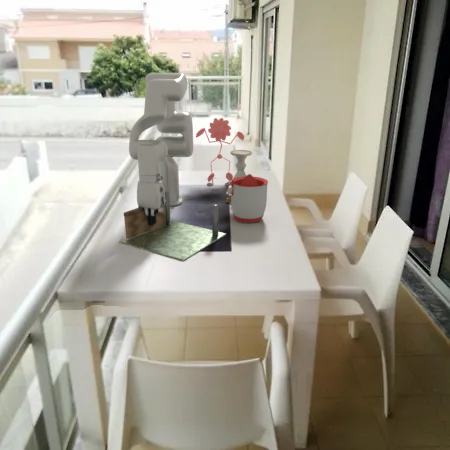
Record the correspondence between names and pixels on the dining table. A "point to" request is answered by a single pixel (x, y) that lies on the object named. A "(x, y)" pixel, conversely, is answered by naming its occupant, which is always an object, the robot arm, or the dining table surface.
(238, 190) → the citrus juicer
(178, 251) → the gate frame
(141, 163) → the robot arm
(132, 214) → the gate
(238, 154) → the candle holder
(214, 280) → the dining table surface
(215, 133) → the figurine
